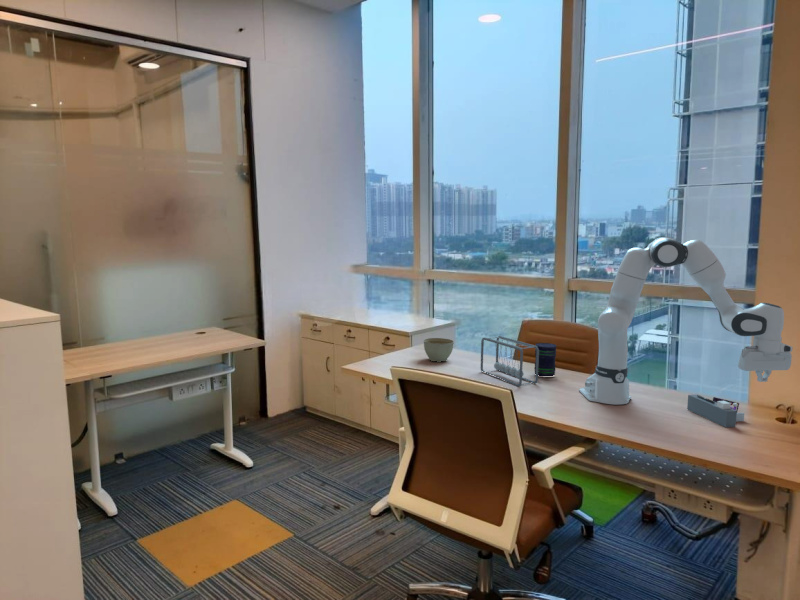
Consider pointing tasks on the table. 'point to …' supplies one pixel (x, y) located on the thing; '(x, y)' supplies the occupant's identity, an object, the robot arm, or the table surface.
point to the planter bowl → (438, 348)
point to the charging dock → (714, 410)
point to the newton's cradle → (508, 368)
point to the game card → (729, 402)
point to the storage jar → (546, 359)
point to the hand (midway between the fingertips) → (762, 381)
